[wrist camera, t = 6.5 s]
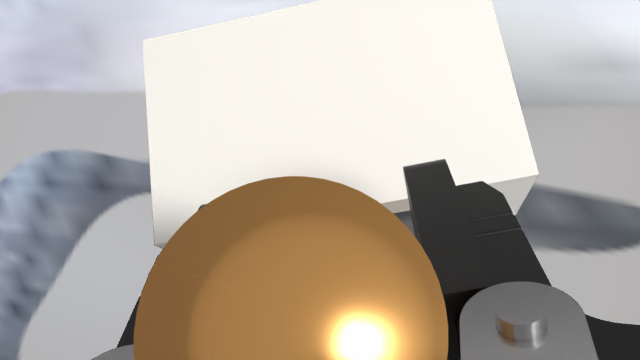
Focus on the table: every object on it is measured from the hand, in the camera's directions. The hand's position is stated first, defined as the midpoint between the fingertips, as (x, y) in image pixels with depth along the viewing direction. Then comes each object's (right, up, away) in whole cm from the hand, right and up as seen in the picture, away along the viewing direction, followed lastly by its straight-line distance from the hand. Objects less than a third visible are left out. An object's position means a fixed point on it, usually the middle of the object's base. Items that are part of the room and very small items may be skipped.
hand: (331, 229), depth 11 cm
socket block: (+2, 0, +12) cm, 12 cm away
